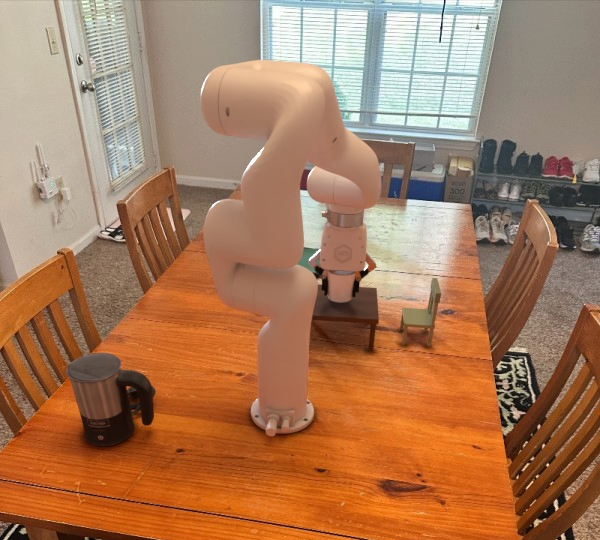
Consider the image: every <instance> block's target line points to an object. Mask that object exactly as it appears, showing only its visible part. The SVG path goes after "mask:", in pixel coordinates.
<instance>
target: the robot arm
mask: <svg viewBox="0 0 600 540" xmlns="http://www.w3.org/2000/svg"><path fill="white" fill-rule="evenodd" d="M204 79H205V80H204V82H203V84H202V87H201V90H200V98H199V99H200V100H199V101H200V102H199V103H200V110H201V113H202V117H203V119H204V121H205V123H206V125H207V126H208V127H209V128H210V129H211V130H212V131H213V132H215V133H217V134H219V135H221V136H228V137H236V138H242V139H251V140H258V141H266V143H265V144H264V145H263V147H262V148H261V150H260V151H259V152H258V153H257V154H256V155H255V156H254V157H253V158H252V159H251V161H250V162H249V164H248V165H247V167H245V170H244V171H243V173H242V175H241V179H240V192H241V193H240V194H241V199H234V198H224V199H219V200H218V201H215V202H214V203H213V204H212V205H211V207H210V208H209V209H208V211H207V212H206V216H205V219H204V224H203V243H204V244H203V245H204V249H205V254H206V258H207V262H208V265H209V269H210V273H211V276H212V280H213V285H214V288H215V290H216V294H217V296H218V299H219V300H220V301H221V303H222V304H223V305H224V306H226V307H228V308H230V309H234V310H237V311H242V312H245V313H246V312H247V313H251V314H256V315H259V316H263V317H266V318H268V319H269V320H268V321H267V322H266V323H265V324H264V325H263V326H262V327H261V329H260V330H259V332H258V335H257V339H256V350H257V351H256V353H257V395H258V396H257V398H256V399H255V400H254V401H253V402H252V404H251V407H250V417H251V420H252V421H253V423H254V424H255V425H256V426H257V427H258V428H260V429H261V430H264V431H265V434H266V435H267V436H268V437H274V436H275V435H276V434H280V435H281V434H282V435H283V434H293V433H297V432H299V431H302V430H304V429H305V428H307V427H308V426H310V424H311V423H312V422H313V420H314V418H315V407H314V405H313V403H312V401H311V400H310V399H308V388H309V387H308V384H309V364H310V363H309V361H310V341H311V327H312V321H313V320H312V315H313V310H314V306H315V302H316V297H317V291H318V284H319V283H318V279H317V277H316V274H313V273H312V272H311V271H310V270H308V269H307V268H305V267H303V266H300V265H297V263H298V262H299V261H300V259H301V257H302V255H303V250H304V247H305V234H304V233H305V232H304V221H303V210H302V199H301V183H302V176H303V173H304V170H305V168H306V165H307V163H309V164H311V165H313V166H314V167H313V168H312V169H311V170H310V172H309V174H308V176H307V180H306V190H307V193H308V196H309V197H310V198H311V200H313V201H315V202H317V203H321V204H324V205H325V204H329V209H328V210H327V209H326V210H322V211H321V218H325V219H326V220H325V222H324V225H323V227H322V233H321V239H320V240H321V241H320V248H319V249H320V250H319V251H318V252H317V253H315V254H314V255H313V256H312V257H311V258H310V259H309V261H308V264H309V265H310V266H311V267H312V268H313V269H314V270H315V271H316V272H317V273H318V274H319V275H318V274H317V275H318V276H319V277H320V279H321V285H322V290H323V291H324V296H326V295H327V292H328V279H327V278H328V276H327V275H328V271H330V270H333V271H350V272H354V273H356V274H355V281H354V284H353V293H352V297H355V295H356V293H359V287H360V283H361V281H362V280H363V279H364V278H365V277H367V276H368V275H369V274H370V273H371V272H372V271H374V270H375V269H376V268H377V263H376V261H375V260H374V258H372V257H371V255H370V254H369V253H368V252H367V248H368V247H367V245H368V244H367V242H368V237H367V236H368V233H367V232H368V231H367V224H366V223H365V221H364V216H365V210H370V209H372V208H374V206H376V204H377V203H378V201H379V199H380V197H381V193H382V187H383V186H382V185H383V183H382V173H381V167H380V162H379V159H378V156H377V154H376V152H375V151H374V150H373V149H372V147H370V146H369V145H368V144H367V143H366V142H365V141H364V140H362V139H361V138H360V137H359V136H357V135H356V134H354V132H352V131H351V130H349V128H347V127H345V123H344V120H343V115H342V112H341V108H340V104H339V101H338V100H339V99H338V97H337V93H336V90H335V85H334V83H333V80H332V78H331V76H330V75H329V73H328V72H327V71H326V70H325V69H324V68H322V67H321V66H319V65H316V64H313V63H307V62H297V61H285V60H274V59H273V60H271V59H256V60H249V61H244V62H238V63H231V64H225V65H220V66H217V67H216V68H213V69H212V70H211V71H210V72H209V73H208V74H207V76H206V77H205V78H204ZM327 219H328V220H327ZM319 259H320V265H319V264H317V262H316V261H318V260H319ZM366 264H367V265H366Z"/></svg>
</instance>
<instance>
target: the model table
mask: <svg viewBox="0 0 600 540" xmlns="http://www.w3.org/2000/svg"><path fill="white" fill-rule="evenodd" d="M317 284H318V291H317V297H316V302H315V306H314V310H313V315H312V321H324V322H337V323H354V324H355V323H357V324H369V325H370V326H369V333H368V342H367V352H374V346H375V345H374V344H375V337H376V330H377V329H376V328H377V325H379V322H380V318H379V317H380V316H379V304H378V303H379V302H378V301H379V300H378V289H377V288H378V287H367V286H359V293H356V295H355V297H352V299H351V300H350V301H348V302H340V303H339V302H334V301H331V300H330V299H329V298H328V292H327V295H326V296H324V291H323V290H322V284H319V283H317Z"/></svg>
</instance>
